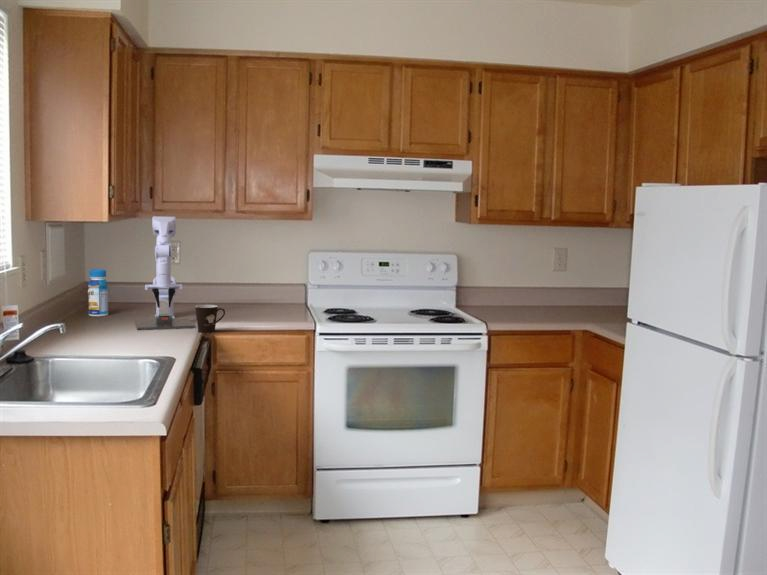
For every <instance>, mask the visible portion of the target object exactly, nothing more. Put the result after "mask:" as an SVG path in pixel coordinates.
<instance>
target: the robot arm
mask: <svg viewBox="0 0 767 575" xmlns="http://www.w3.org/2000/svg"><path fill="white" fill-rule="evenodd" d="M151 220H152V222H151V223H152V226H151V227H152V233H153V237H156V239H155V240H156V244H155V246H154V257H155V265H156V267H155V272H156V274H155V275H156V276H155V277H154V278H153V280H152V284H145V285H144V290H145V291H149V290H152V295H153V297H154V298H155V309H156V311H155V313H156V314H154V315H153V316H154V317H155V318H154V319H156V316H159V306H160V304H159V300H169V315H171V316H172V318H176V316H175V314H174V297H176V296H177V290H183V284H180V283H179V284H177V279H176V278H175V277H174V276H173V275H172V260H171V259H172V256H173V255H172V254H173V248H172V244H171V243H172V242H171V241H172V238H173V237H175V236H176V233H177V232H176V231H177V218H176V216H175V215H173V216H159V215H158V216H155V215H153V216H152V219H151Z"/></svg>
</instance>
